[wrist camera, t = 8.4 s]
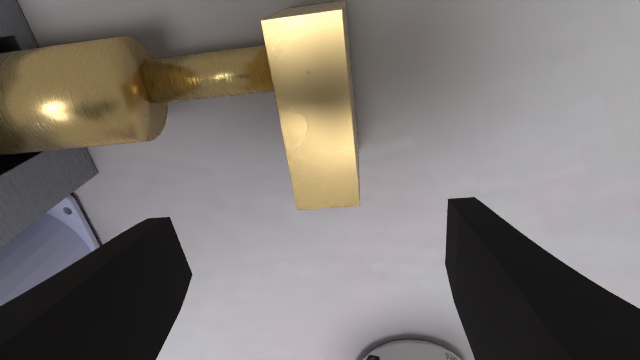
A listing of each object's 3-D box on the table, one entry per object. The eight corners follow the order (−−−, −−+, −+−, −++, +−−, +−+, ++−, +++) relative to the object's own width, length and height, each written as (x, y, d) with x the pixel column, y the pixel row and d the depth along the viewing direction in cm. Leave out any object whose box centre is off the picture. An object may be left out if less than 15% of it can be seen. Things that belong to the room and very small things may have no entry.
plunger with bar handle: (358, 153, 18) (360, 211, 14) (86, 176, 21) (9, 232, 16) (345, 0, 15) (341, 10, 11) (21, 45, 17) (-98, 70, 13)
